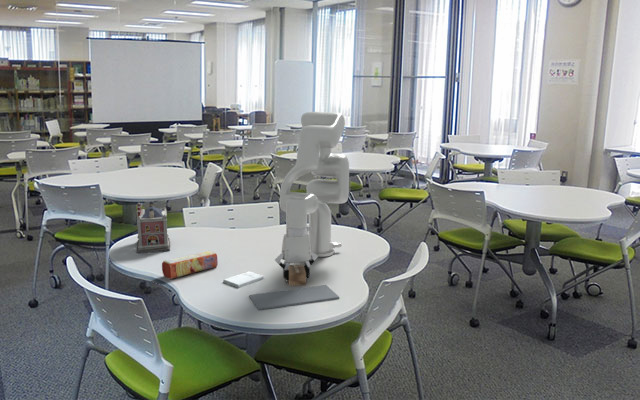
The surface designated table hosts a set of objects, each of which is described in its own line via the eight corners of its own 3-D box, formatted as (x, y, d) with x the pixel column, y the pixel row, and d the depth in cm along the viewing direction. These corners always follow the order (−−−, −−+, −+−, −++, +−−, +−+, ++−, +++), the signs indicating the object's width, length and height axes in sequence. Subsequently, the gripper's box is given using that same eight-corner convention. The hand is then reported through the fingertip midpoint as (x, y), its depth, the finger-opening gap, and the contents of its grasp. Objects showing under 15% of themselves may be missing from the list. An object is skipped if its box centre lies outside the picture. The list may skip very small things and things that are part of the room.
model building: (137, 241, 249) (134, 197, 245) (170, 239, 253) (167, 196, 248) (135, 253, 231) (133, 207, 227) (170, 251, 235) (168, 205, 231)
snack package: (209, 264, 220) (209, 247, 219) (219, 268, 216) (218, 251, 214) (161, 276, 206) (160, 259, 204) (170, 281, 201) (169, 263, 200)
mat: (325, 286, 197) (326, 284, 197) (339, 298, 187) (339, 296, 186) (249, 296, 187) (249, 294, 187) (258, 310, 176) (258, 308, 176)
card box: (303, 276, 207) (303, 264, 206) (305, 284, 199) (306, 272, 198) (287, 276, 207) (287, 264, 206) (289, 285, 198) (289, 273, 197)
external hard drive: (223, 283, 200) (248, 274, 210) (238, 289, 195) (263, 279, 205) (223, 279, 200) (248, 270, 209) (238, 284, 195) (263, 275, 204)
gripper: (315, 226, 205) (314, 272, 209) (270, 230, 199) (270, 277, 203) (323, 231, 198) (322, 278, 202) (276, 236, 192) (276, 284, 196)
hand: (296, 277), depth 202 cm, fingers closed on card box, 6 cm apart
